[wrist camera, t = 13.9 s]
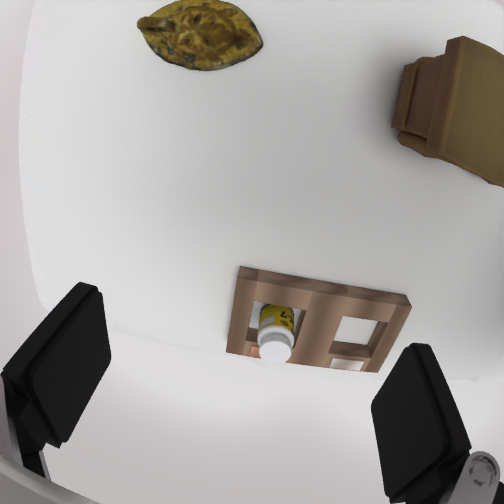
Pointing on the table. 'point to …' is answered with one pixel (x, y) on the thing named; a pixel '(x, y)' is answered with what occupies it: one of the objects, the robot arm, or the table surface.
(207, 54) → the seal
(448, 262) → the table surface
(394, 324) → the socket block
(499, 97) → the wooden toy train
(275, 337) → the supplement bottle
